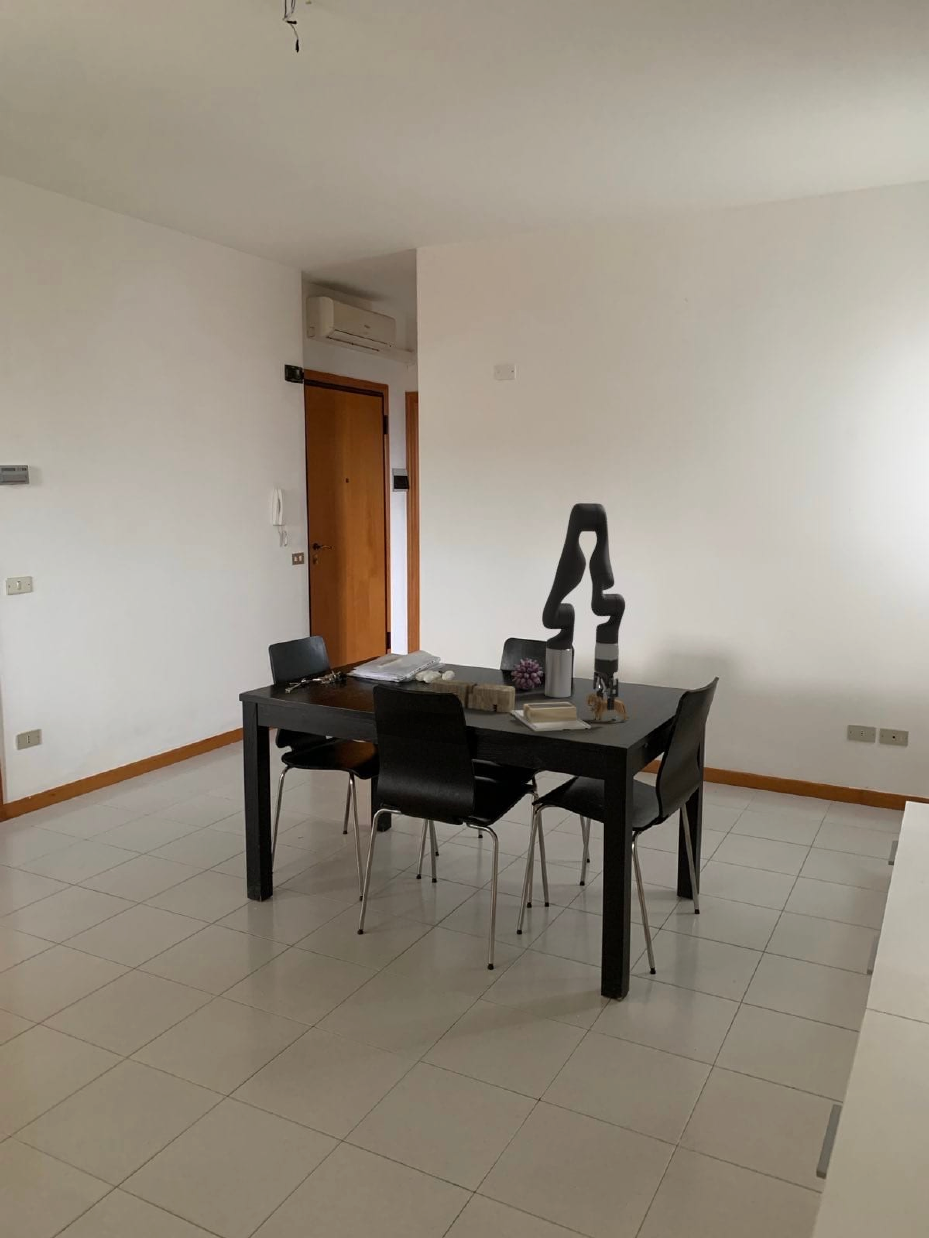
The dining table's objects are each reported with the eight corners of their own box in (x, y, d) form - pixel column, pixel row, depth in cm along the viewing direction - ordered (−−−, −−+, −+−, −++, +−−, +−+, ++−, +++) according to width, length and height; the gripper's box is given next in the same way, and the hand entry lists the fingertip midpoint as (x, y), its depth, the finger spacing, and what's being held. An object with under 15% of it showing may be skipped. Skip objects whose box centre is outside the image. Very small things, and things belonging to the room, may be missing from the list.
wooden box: (523, 716, 292) (523, 703, 291) (567, 714, 295) (567, 701, 295) (531, 722, 284) (531, 709, 283) (576, 719, 288) (576, 707, 287)
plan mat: (511, 713, 299) (511, 710, 299) (562, 710, 304) (562, 707, 303) (535, 731, 276) (535, 728, 276) (590, 728, 281) (590, 725, 281)
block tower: (516, 711, 306) (438, 699, 318) (518, 687, 305) (439, 676, 316) (508, 716, 299) (428, 704, 311) (509, 691, 298) (429, 680, 309)
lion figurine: (588, 723, 287) (589, 695, 286) (582, 719, 292) (583, 692, 291) (632, 722, 290) (633, 694, 289) (625, 718, 295) (627, 690, 294)
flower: (542, 687, 341) (543, 655, 340) (542, 693, 329) (543, 661, 328) (511, 685, 342) (512, 654, 341) (510, 692, 331) (511, 660, 329)
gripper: (586, 653, 293) (585, 702, 295) (604, 660, 280) (603, 712, 282) (608, 652, 295) (606, 702, 297) (627, 660, 282) (625, 711, 284)
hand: (604, 707), depth 289 cm, fingers open, 8 cm apart
